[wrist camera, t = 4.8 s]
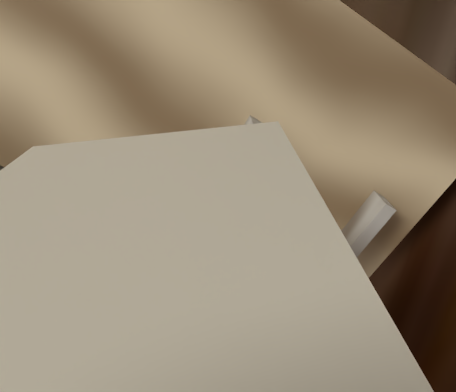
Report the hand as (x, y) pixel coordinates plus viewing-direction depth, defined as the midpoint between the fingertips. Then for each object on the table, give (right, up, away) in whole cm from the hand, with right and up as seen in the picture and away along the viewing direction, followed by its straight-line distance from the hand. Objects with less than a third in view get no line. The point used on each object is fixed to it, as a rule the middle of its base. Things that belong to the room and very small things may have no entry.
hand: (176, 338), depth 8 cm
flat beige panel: (0, +6, +11) cm, 13 cm away
